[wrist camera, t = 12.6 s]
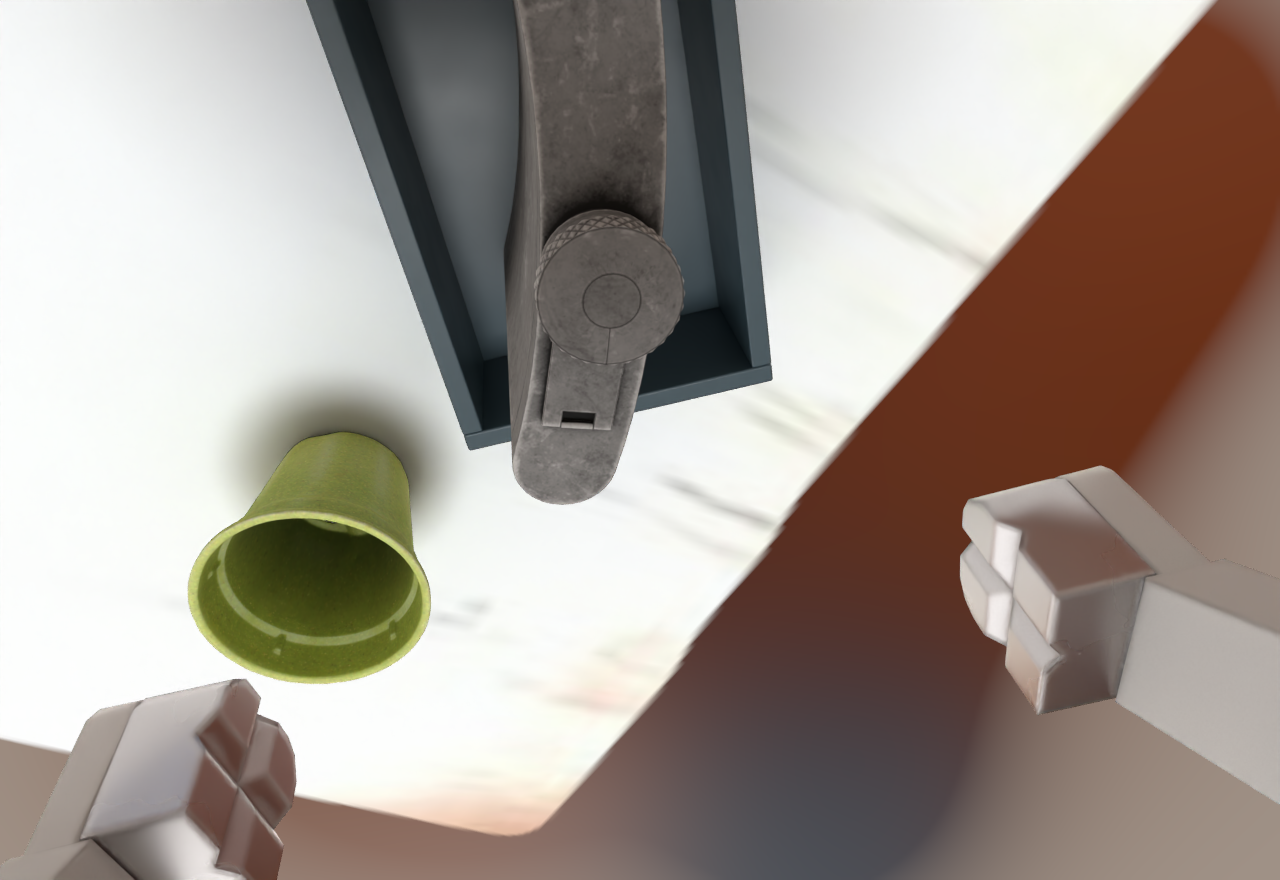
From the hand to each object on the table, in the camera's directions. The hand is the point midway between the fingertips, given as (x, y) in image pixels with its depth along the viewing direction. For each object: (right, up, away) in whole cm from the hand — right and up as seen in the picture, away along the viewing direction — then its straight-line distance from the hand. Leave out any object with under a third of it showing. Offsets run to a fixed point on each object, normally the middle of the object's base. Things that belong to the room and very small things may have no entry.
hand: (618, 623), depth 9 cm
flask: (-3, +15, +23) cm, 28 cm away
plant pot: (-14, 0, +32) cm, 35 cm away
